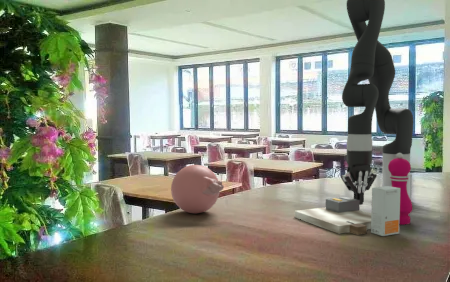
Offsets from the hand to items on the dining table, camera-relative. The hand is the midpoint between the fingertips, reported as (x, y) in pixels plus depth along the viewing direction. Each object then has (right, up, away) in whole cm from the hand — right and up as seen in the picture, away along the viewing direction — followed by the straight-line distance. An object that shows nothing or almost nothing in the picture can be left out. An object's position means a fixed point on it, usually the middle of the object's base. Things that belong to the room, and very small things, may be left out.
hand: (358, 204), depth 130 cm
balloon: (-50, -4, +1) cm, 50 cm away
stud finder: (-6, -1, -2) cm, 6 cm away
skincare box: (0, -5, -22) cm, 22 cm away
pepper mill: (+8, -4, -10) cm, 14 cm away
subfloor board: (-7, -4, -10) cm, 13 cm away
